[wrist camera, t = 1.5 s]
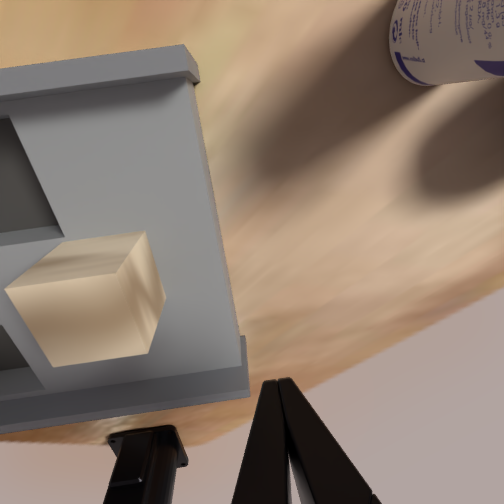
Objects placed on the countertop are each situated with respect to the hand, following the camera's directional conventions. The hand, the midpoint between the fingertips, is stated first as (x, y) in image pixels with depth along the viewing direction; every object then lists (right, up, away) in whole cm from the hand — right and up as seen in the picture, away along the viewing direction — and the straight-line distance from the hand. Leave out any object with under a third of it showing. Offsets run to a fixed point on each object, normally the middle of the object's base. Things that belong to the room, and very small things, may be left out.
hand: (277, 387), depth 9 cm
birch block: (-9, +3, +8) cm, 12 cm away
